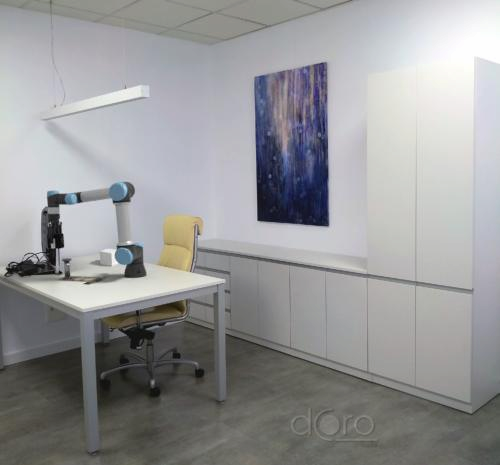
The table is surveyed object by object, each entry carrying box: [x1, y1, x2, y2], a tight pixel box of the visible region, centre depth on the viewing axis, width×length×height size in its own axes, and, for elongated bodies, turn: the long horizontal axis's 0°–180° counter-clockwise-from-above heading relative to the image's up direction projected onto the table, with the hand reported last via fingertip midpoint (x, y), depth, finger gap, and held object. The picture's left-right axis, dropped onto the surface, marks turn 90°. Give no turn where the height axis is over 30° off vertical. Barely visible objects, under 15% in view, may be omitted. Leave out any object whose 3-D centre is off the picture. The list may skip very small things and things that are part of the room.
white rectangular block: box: [99, 248, 119, 267], centre depth 423 cm, size 14×29×10 cm, turn 21°
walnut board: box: [56, 275, 104, 285], centre depth 357 cm, size 27×15×2 cm, turn 74°
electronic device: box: [46, 232, 65, 250], centre depth 365 cm, size 4×10×10 cm, turn 77°
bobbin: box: [61, 257, 73, 279], centre depth 358 cm, size 6×6×13 cm
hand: (55, 247), depth 366 cm, fingers closed on electronic device, 4 cm apart
